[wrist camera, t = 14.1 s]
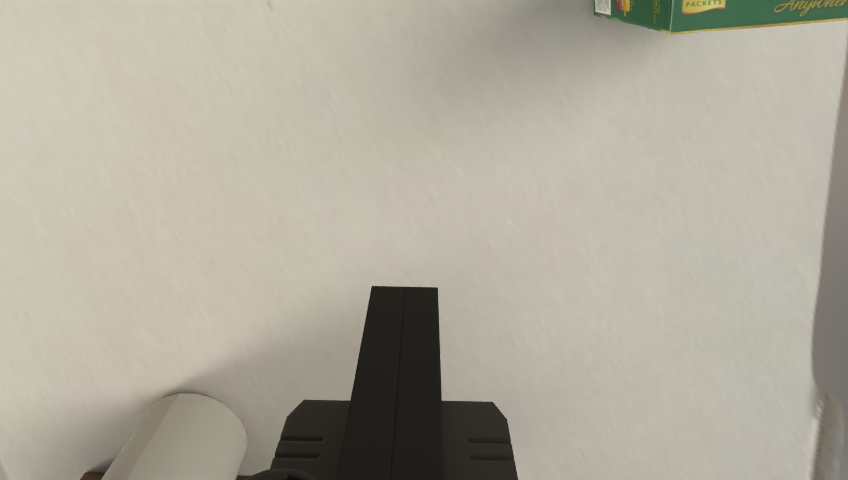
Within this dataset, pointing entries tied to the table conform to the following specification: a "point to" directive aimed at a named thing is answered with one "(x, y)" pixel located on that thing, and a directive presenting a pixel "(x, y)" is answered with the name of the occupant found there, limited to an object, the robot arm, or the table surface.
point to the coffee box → (719, 13)
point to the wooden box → (95, 478)
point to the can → (183, 442)
